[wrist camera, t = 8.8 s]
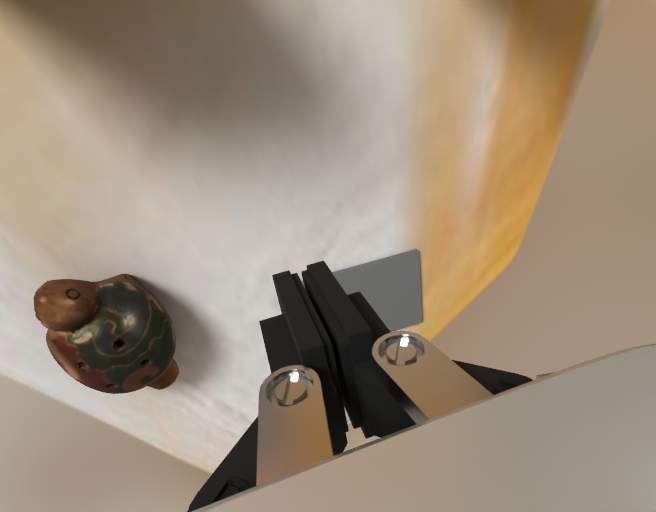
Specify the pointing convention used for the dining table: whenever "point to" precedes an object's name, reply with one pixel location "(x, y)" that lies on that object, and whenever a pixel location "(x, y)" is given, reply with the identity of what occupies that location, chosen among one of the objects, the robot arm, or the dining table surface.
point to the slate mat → (388, 287)
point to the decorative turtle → (108, 333)
